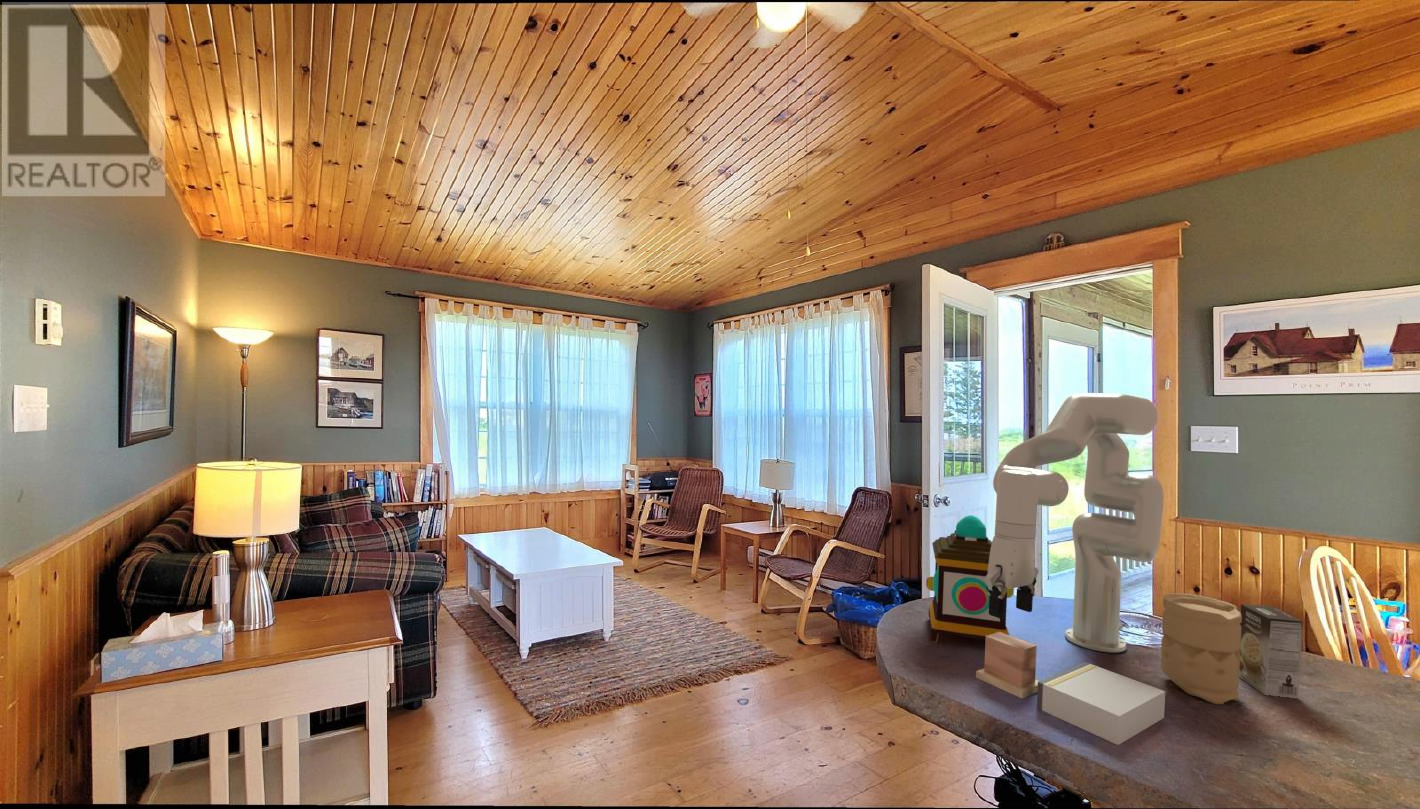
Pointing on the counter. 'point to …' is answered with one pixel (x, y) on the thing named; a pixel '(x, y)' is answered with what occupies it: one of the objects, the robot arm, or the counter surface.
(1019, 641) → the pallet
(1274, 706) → the counter surface
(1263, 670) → the coffee box
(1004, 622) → the decorative lantern
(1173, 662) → the container
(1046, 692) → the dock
